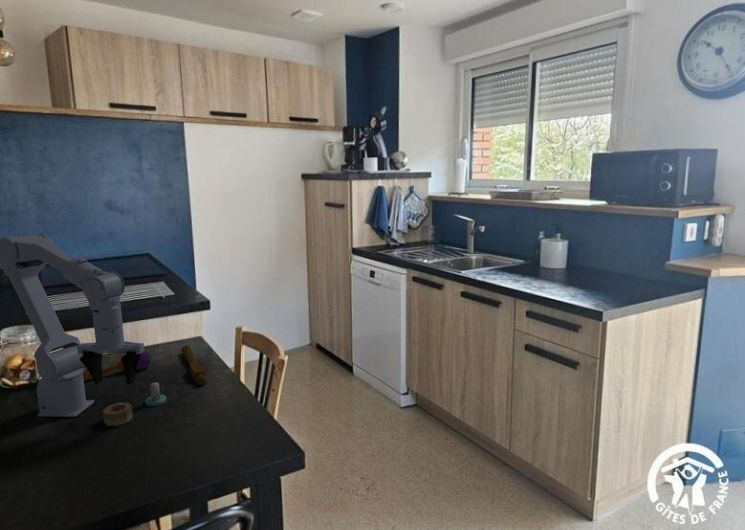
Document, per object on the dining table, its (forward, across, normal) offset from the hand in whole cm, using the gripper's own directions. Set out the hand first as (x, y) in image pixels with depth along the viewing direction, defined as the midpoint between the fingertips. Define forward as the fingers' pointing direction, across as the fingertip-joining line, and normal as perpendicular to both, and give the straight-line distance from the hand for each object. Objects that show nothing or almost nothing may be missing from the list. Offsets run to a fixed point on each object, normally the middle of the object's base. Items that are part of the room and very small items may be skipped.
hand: (114, 382), depth 114 cm
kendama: (+10, -16, +27) cm, 33 cm away
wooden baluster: (+10, +5, +32) cm, 34 cm away
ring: (+9, 0, 0) cm, 9 cm away
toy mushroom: (+9, +4, +9) cm, 14 cm away
